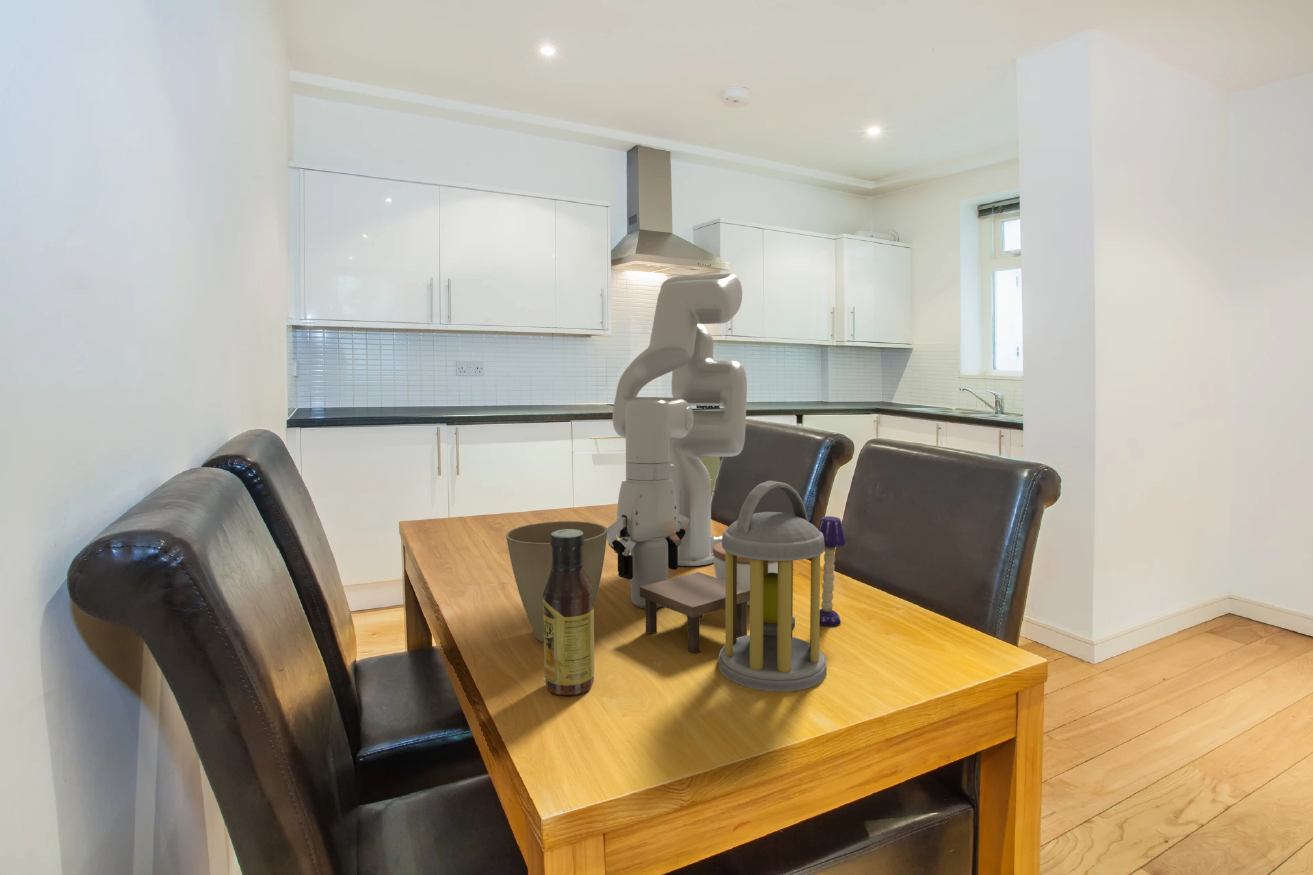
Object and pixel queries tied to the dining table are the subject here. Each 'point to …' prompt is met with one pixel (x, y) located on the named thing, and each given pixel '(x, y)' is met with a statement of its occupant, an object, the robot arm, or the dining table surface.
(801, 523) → the lantern
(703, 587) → the small brown table
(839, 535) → the toy lamp
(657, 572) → the beverage can
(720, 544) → the lidded bowl
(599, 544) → the plant pot
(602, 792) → the dining table surface
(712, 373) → the robot arm
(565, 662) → the sauce bottle
